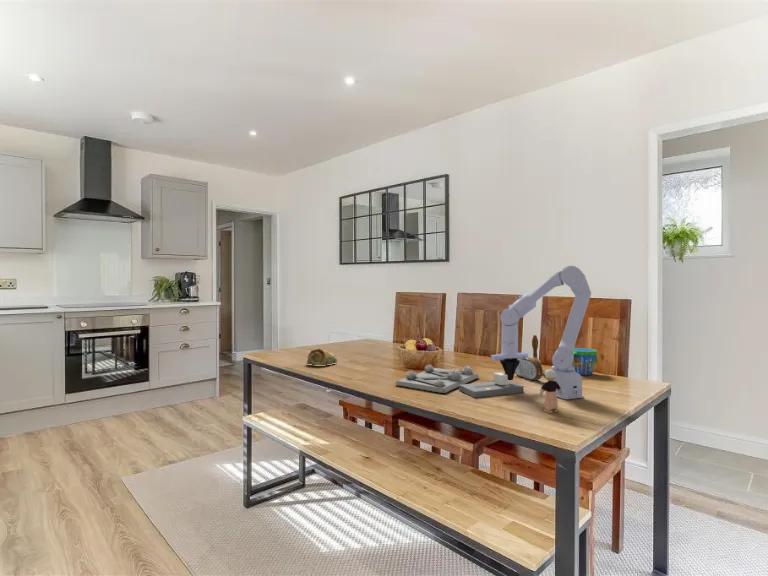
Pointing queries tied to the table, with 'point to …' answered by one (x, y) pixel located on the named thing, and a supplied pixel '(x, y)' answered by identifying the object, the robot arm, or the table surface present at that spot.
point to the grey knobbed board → (438, 379)
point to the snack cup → (584, 360)
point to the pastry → (321, 357)
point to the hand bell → (535, 346)
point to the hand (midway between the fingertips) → (509, 379)
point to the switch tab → (501, 378)
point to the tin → (529, 369)
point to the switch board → (490, 389)
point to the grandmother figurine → (550, 392)
